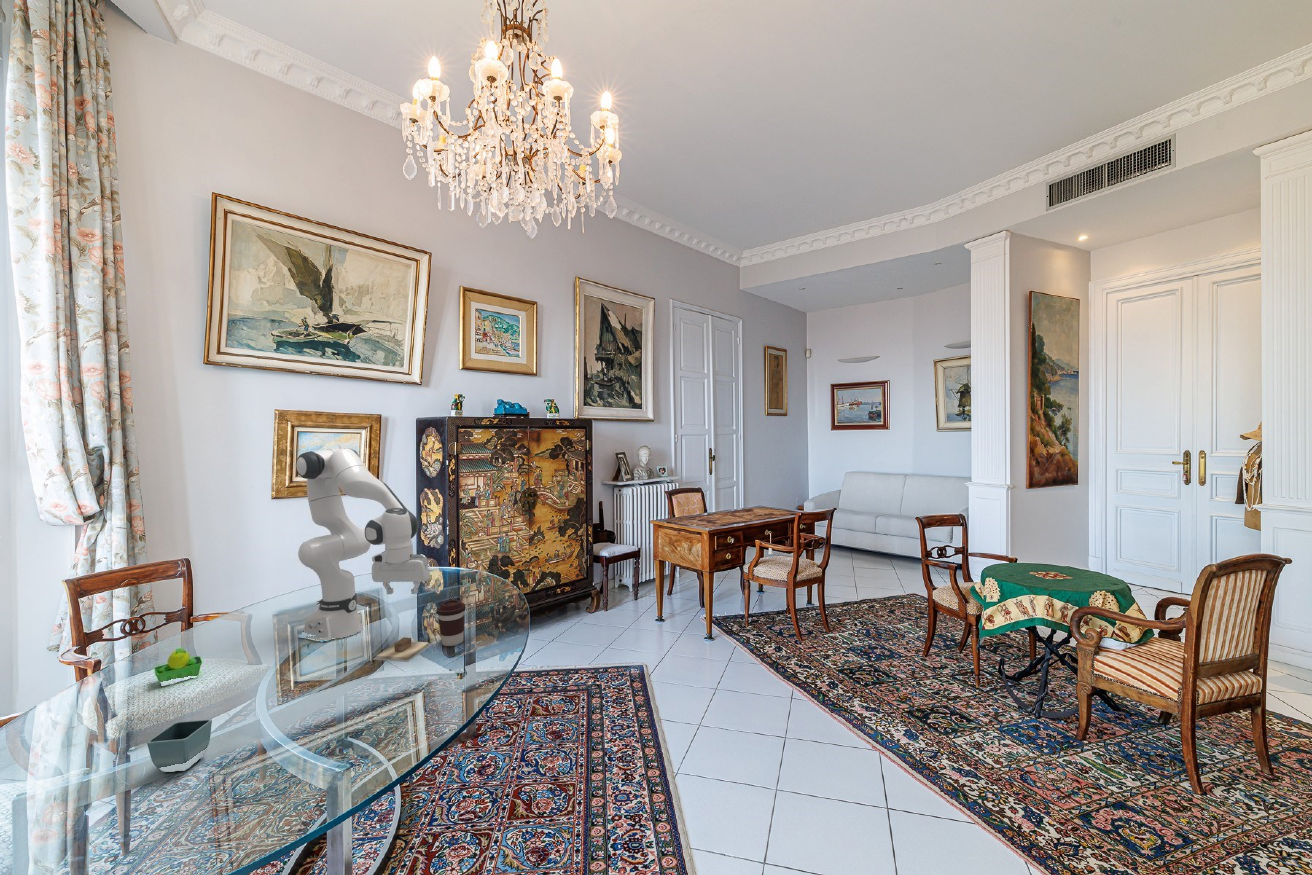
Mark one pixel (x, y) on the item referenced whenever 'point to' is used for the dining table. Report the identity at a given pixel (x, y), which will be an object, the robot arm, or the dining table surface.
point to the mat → (404, 660)
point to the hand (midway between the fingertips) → (402, 593)
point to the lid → (402, 649)
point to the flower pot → (179, 742)
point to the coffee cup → (451, 622)
